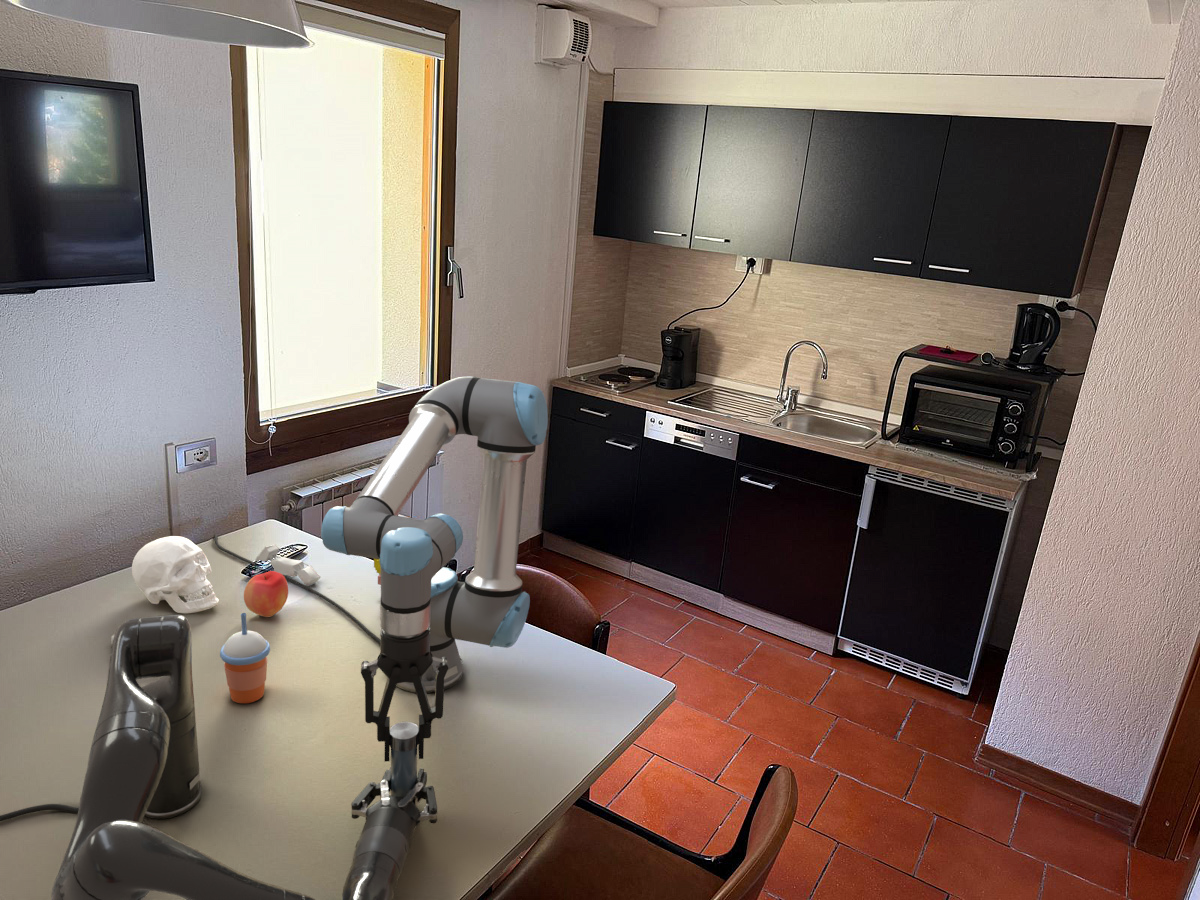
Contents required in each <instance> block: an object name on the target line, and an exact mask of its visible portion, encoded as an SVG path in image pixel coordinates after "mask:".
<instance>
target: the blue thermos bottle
mask: <svg viewBox="0 0 1200 900" xmlns="http://www.w3.org/2000/svg"><path fill="white" fill-rule="evenodd" d="M390 767H391V790H390V795H393V796H397V797H400V796H405V795H406V794H407V793H408V792H409V790H410V789H411V790H412V789H413V788H414V786H415V782H416V779H417V775H418V746H417V747H415V748H414V749H412V750H410V751H404V752H401V751H396V750H394V749H392V748H391V747H390Z"/></svg>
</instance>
